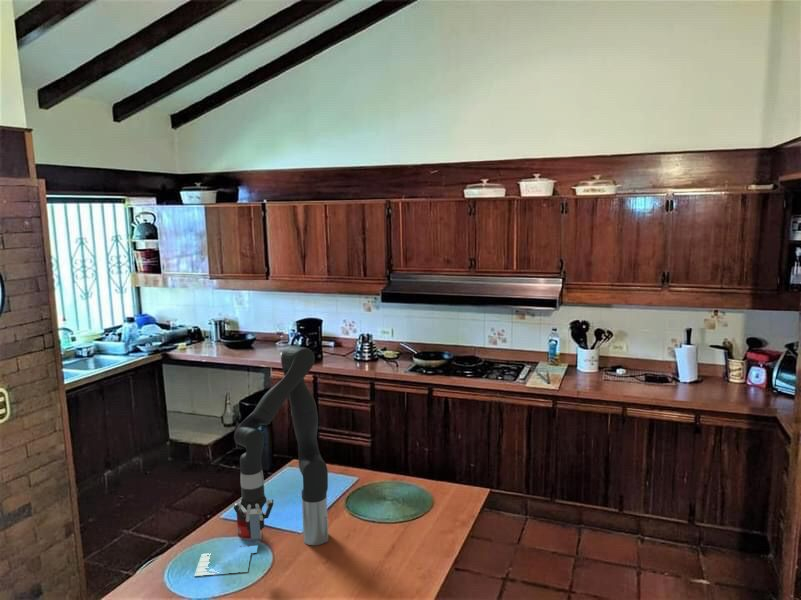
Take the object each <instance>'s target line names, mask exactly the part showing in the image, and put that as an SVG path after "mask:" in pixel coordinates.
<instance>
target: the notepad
mask: <svg viewBox="0 0 801 600" xmlns="http://www.w3.org/2000/svg"><path fill="white" fill-rule="evenodd" d="M211 553H212V552H210V554H209V552H207V553H201V555H200V558H199V560H198V563H197V567H196V570H195V573H194V576H193V577H194V578H196V577H195V576H201V577H204V576H203V575H213V576H215V575H214V574H215V573H209V572H207V570H206V569H205V568H209V567H208V564H209V563H210V562H209V559H210V555H211ZM207 555H209V556H207ZM209 571H212V572H217V571H215V570H214V569H210V570H209ZM217 573H219V572H217Z"/></svg>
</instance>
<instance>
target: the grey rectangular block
mask: <svg viewBox="0 0 801 600" xmlns="http://www.w3.org/2000/svg"><path fill="white" fill-rule="evenodd" d="M258 510H259V509H258ZM249 517H250V531H251V537H250V542H259V541H260V542H261V541H262V536H263V535H262V530H260V519H259V515H258V513H257V509H256V508H251V511H250V516H249Z"/></svg>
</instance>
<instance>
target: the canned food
mask: <svg viewBox="0 0 801 600" xmlns="http://www.w3.org/2000/svg"><path fill="white" fill-rule="evenodd" d="M241 509H242V511H243V513H244V514H245V515H246V514H247V510H246V509H245V508H244V507H243V506H242V505H241ZM236 527H237V533H238V536H239V537H240V538H243V539H249V538H250V539H251V531H249V530H247V524H246V521H245V520H243V521H241V520H240V518H239V516H238V515H237V514H236Z"/></svg>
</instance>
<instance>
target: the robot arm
mask: <svg viewBox="0 0 801 600" xmlns="http://www.w3.org/2000/svg"><path fill="white" fill-rule="evenodd" d="M315 360H316V357H315V354H314V352H313V350H311V349H310V348H307V347H304V346H298V345H287V346H286V347H285V348H283V351H282V353H281V356H280V362H281V363H280V364H281V367H282V371H283V374H284V376H283V377H282V379H281V380H280V381H278V382H277V383H276V384H275V385H274V386H272V387H271V388H270V389H269V390H267V391H266V393H264V395H263V396H262V397H261V398H260V400H259V402H258V403H257V405H256V407H255V408H254V410H253V411H252V412H251V413H250V414H249V415H248V416H247V417H245V418H244V420H243V421H241V423H239V424H238V426H237V427H236V429H235V431H234V433H233V440H234V442H235V444H237V445H238V446H240V447H243V448H245V452H244V453H242V454H241V455H240V458H239V467H240V468H239V469H240V482H239V483H240V490H241V492H240V493H241V500H240V501H239V502H235V503H234V506H233V509H234V511H235V513H236V516H237V515H238V516H239V518H240V520H241V521H243V520H245V521H246V524H247V530H249V531H250V517H249V516H250V511H251V508H256V509H257V513H258V515H259V519H260V530H261V531H263V529H264V528H265V519H268V518H269V517H270V514H271V513H272V512H271V511H272V509H273V507H274V501H275V500H274V499H267V497H266V496H265V484H264V483H265V481H264V473H263V472H264V471H263V465H262V463H263V462H262V456H263V451H264V446H265V436H264V433H263V432H262V430H261V429H259V428H260V427H262V426H268V425H270V424H271V422H272V421H273V419H274V418H275V417H276V415H277V413H278V411H279V410H280V408H281V407H282V405H283V404H284V402H285V401H286V400H287V398H288V399H289V405H290V413H291V419H292V424H293V429H294V433H295V438H296V441H297V452H298V453H297V454H298V468H299V471H300V473H301V475H302V487H303V488H302V490H301V510H302V512H301V513H302V530H303V531H302V536H303V542H304V544H306V545H308V546H309V545H310V546H319V545H320V546H321V545H323V544H325V543H329V523H328V521H329V519H328V498H327V497H328V488H329V487H328V486H329V485H328V484H329V477H328V476H329V471H328V466H327V464H326V461H324V458H323V457H322V455H321V453H320V450H319V449H320V448H319V444H318V438H317V437H318V428H319V415H318V409H317V404H316V400H315V398H314V397H313V396H314V395H312V393H311V391H310V389H309V388H308V385H307V384H306V381H305V377H306V376H307V375H308V374H309V372H310V371H311V370H312V368H313V367H314V365H315ZM265 504H266V507H267V508H266V510H265V512H264V511H263V507H264V506H265ZM241 505H242V506H243V507H244V508H245V509H246V510H247V514H246V515H245V514H244V513H243V511H242V509H241ZM258 509H259V510H258Z"/></svg>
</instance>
